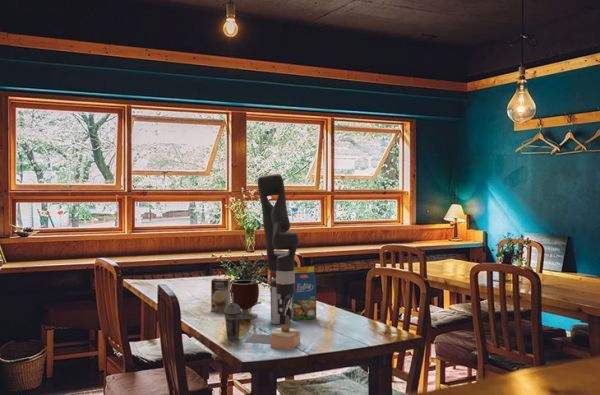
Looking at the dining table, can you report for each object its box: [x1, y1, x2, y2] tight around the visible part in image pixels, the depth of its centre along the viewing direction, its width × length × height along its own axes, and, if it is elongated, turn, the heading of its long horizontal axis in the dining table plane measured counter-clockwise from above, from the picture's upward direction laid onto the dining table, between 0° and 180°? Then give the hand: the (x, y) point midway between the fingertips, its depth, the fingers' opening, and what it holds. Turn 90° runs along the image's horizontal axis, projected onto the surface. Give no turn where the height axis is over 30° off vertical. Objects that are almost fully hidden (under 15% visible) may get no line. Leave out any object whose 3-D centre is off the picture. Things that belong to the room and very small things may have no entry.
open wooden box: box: [269, 331, 301, 350], centre depth 239 cm, size 10×10×5 cm
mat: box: [243, 333, 272, 345], centre depth 249 cm, size 14×14×1 cm
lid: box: [271, 315, 300, 338], centre depth 239 cm, size 11×11×7 cm
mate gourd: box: [230, 276, 261, 320], centre depth 294 cm, size 16×14×20 cm
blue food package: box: [290, 266, 317, 321], centre depth 290 cm, size 6×12×25 cm, turn 111°
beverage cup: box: [223, 293, 242, 341], centre depth 249 cm, size 7×7×20 cm
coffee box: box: [210, 278, 231, 312], centre depth 309 cm, size 9×6×16 cm
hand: (285, 321), depth 239 cm, fingers open, 8 cm apart
